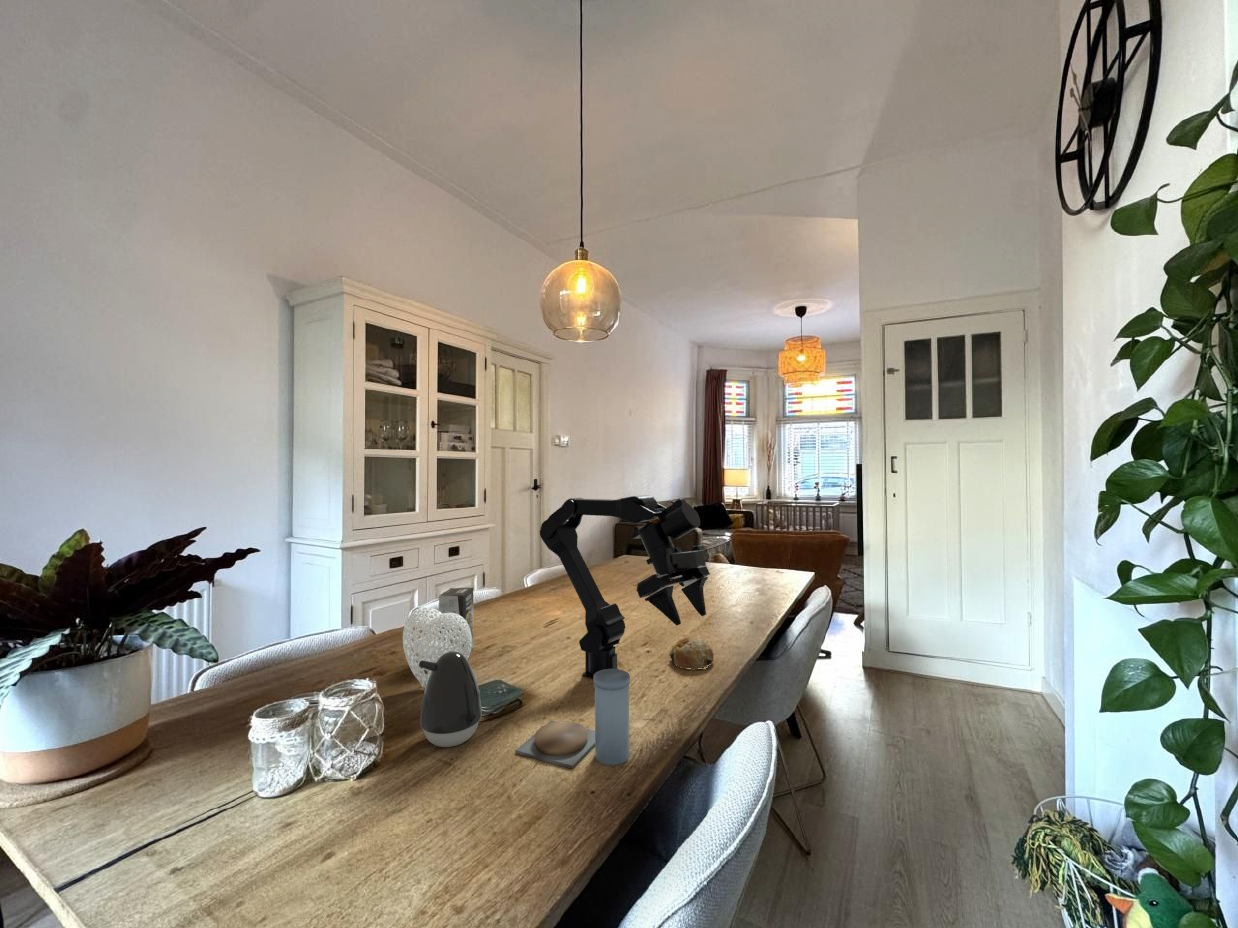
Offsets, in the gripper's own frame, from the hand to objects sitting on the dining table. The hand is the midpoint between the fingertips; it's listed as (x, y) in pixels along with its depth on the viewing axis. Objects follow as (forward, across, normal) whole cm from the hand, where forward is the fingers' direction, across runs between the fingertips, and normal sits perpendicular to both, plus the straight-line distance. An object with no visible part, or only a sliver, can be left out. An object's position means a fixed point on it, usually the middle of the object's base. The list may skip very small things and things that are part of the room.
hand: (691, 620), depth 103 cm
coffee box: (-16, -14, +62) cm, 66 cm away
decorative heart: (-8, -30, +48) cm, 57 cm away
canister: (+15, -24, +9) cm, 29 cm away
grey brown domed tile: (+10, -27, +16) cm, 33 cm away
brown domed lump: (+8, +18, +19) cm, 28 cm away
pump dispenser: (+3, -38, +30) cm, 49 cm away
